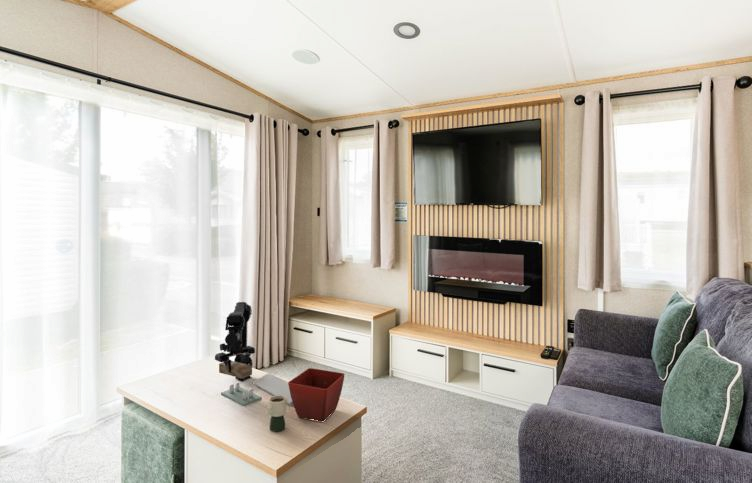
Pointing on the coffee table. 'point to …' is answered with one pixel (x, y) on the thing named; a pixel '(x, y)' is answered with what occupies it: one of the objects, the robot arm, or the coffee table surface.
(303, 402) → the plant pot
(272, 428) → the character mug
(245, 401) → the peg base
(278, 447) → the coffee table surface
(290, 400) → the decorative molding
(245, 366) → the walnut shelf board
